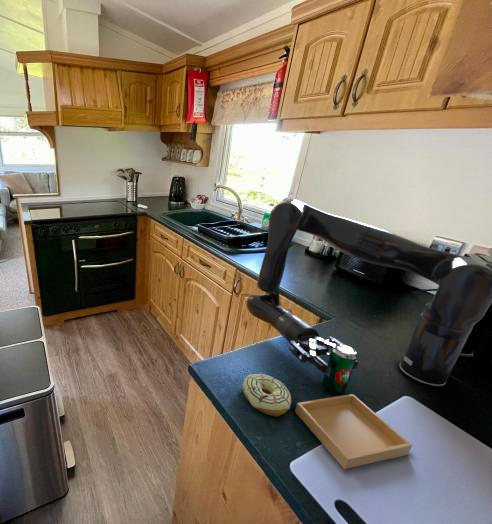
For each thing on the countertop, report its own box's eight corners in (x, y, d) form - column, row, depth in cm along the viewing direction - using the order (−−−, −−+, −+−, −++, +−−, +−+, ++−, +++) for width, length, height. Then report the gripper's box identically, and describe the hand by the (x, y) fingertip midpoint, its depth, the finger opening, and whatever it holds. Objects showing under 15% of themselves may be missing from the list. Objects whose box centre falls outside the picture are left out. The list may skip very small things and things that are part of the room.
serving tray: (349, 402, 69) (352, 393, 68) (408, 454, 57) (412, 445, 56) (294, 411, 66) (297, 402, 65) (344, 469, 54) (348, 459, 53)
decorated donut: (250, 418, 63) (253, 405, 62) (235, 382, 74) (237, 370, 72) (297, 419, 64) (301, 406, 62) (276, 383, 74) (279, 371, 72)
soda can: (322, 378, 76) (334, 340, 72) (345, 388, 73) (359, 348, 69) (319, 389, 72) (331, 349, 68) (343, 399, 69) (357, 358, 65)
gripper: (276, 321, 82) (321, 358, 67) (319, 317, 85) (370, 352, 70) (271, 343, 84) (313, 383, 70) (313, 339, 87) (361, 376, 73)
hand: (342, 367), depth 70 cm, fingers open, 8 cm apart
